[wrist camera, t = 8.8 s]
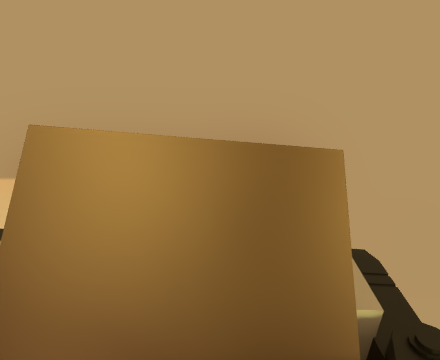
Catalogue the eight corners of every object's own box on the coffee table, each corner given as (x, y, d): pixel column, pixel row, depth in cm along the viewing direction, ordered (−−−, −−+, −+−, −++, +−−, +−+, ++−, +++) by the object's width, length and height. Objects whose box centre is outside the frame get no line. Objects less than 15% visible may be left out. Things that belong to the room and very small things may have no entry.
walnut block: (85, 412, 15) (-67, 526, 5) (108, 245, 17) (28, 124, 8) (252, 416, 15) (374, 528, 6) (253, 253, 17) (343, 149, 8)
